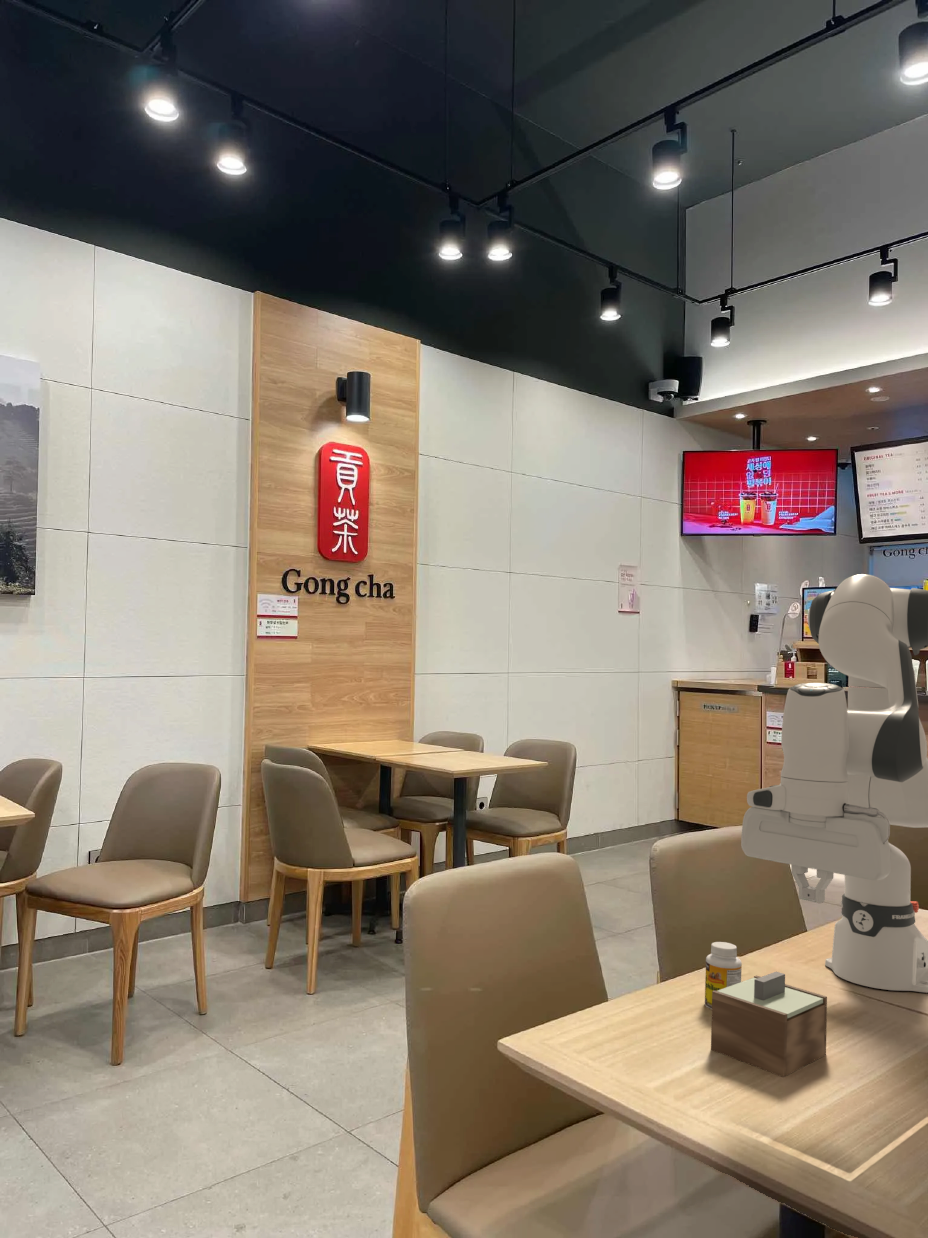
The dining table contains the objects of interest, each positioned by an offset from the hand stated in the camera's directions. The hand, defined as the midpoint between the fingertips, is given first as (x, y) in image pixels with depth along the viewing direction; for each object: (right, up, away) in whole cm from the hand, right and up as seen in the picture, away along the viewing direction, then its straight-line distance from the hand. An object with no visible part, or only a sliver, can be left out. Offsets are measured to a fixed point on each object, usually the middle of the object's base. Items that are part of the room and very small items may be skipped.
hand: (811, 901), depth 125 cm
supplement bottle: (-6, -24, +21) cm, 33 cm away
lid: (-5, -15, +4) cm, 16 cm away
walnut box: (-5, -23, +3) cm, 24 cm away
